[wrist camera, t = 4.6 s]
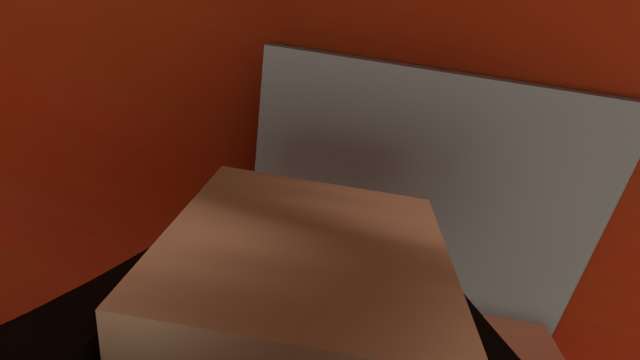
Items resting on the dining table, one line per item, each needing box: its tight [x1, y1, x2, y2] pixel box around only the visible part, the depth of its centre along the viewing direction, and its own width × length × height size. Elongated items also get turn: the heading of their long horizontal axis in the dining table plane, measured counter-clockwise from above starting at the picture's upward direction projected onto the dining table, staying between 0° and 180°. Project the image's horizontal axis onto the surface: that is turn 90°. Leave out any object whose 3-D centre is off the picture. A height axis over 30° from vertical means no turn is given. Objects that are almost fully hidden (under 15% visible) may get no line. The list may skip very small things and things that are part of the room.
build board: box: [255, 42, 640, 336], centre depth 18 cm, size 14×18×1 cm
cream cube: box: [95, 166, 488, 360], centre depth 7 cm, size 4×4×4 cm
